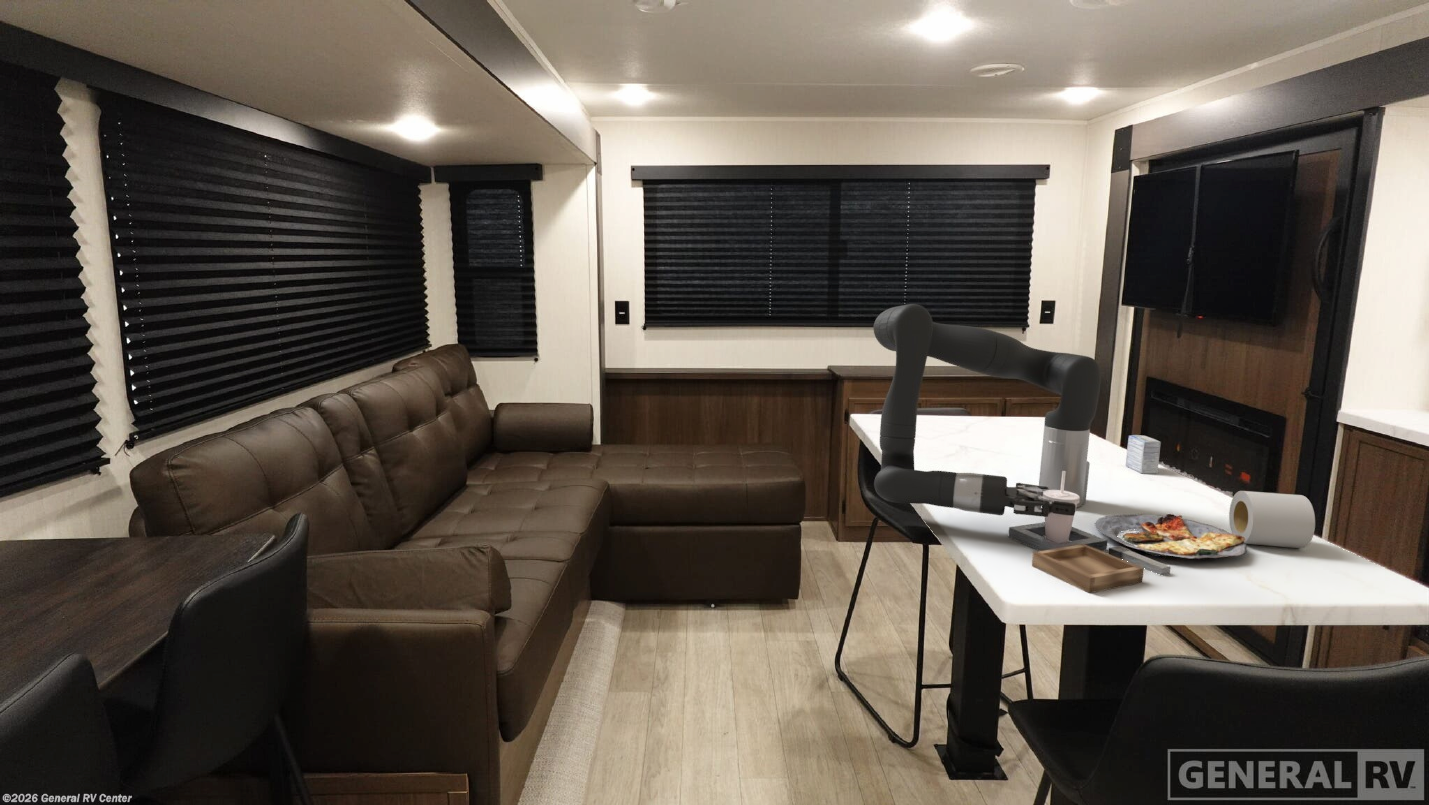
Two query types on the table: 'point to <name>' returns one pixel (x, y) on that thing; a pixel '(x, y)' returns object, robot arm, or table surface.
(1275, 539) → the toilet paper
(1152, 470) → the medicine box
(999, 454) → the table surface
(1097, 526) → the food plate
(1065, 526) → the smoothie
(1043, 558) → the tray
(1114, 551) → the bar
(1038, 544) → the socket
